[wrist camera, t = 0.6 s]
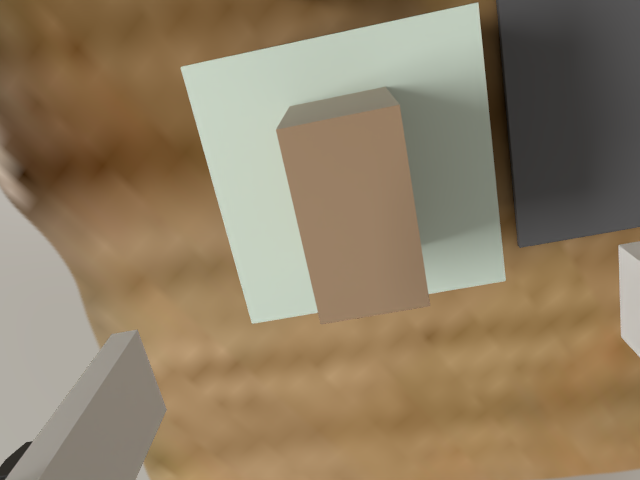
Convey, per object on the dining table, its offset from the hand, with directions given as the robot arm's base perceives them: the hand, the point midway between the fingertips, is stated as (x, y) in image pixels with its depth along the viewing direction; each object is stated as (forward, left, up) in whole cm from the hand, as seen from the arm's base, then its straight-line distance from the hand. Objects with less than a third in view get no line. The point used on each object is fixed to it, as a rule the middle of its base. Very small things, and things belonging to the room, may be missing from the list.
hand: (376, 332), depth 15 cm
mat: (+1, +20, -26) cm, 33 cm away
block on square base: (0, 0, -19) cm, 19 cm away
